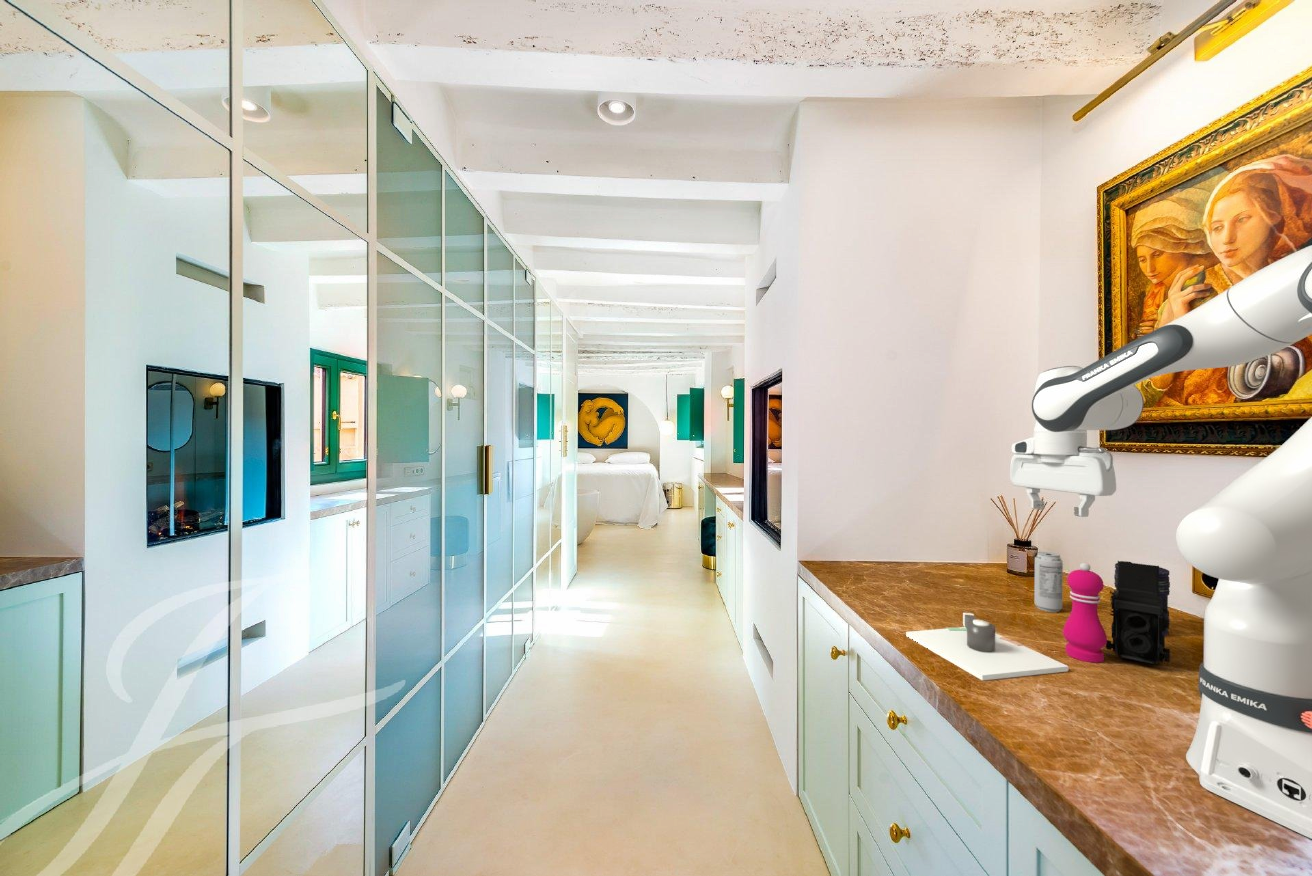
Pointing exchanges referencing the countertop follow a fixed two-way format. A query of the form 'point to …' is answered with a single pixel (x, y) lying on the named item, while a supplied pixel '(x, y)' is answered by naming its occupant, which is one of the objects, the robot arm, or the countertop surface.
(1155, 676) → the countertop surface
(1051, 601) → the energy drink can
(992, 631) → the dial
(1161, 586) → the storage jar
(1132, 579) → the camera
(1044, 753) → the countertop surface
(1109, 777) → the countertop surface
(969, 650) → the tuner board
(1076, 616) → the pepper mill
